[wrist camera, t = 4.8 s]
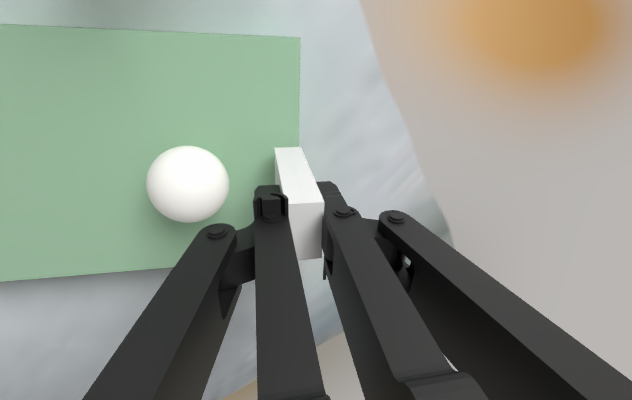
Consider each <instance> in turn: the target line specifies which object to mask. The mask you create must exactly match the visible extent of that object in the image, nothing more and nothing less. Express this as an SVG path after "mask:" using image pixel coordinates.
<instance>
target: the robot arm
mask: <svg viewBox="0 0 632 400" xmlns="http://www.w3.org/2000/svg"><path fill="white" fill-rule="evenodd" d="M274 156H275V185H260V186H258V187H257V188H256V189H255V190H254V199H253V210H254V221H253V223H252V224H250V225H249V226H247V227H246V228H243V229H240V230H235V228H234V227H233V226H231V225H230V224H225V223H216V224H211V225H208V226H206V227H204V228H202V229H201V230H200V231H199V232H198V234H197V235H196V237H195V238H194V239H193V241H192V242H191V244H190V245H189V247H188V248H187V249H186V251H185V252H184V254H183V255H182V257H181V258H180V260H179V261H178V262H177V264H176V265H175V267H174V268H173V270H172V271H171V273H170V274H169V275H168V277H167V278H166V280H165V281H164V283H163V284H162V285H161V287H160V288H159V290H158V291H157V293H156V294H155V296H154V297H153V298H152V300H151V301H150V303H149V304H148V306H147V307H146V309H145V310H144V311H143V313H142V314H141V316H140V317H139V319H138V320H137V321H136V323H135V324H134V326H133V327H132V329H131V330H130V332H129V333H128V334H127V336H126V337H125V339H124V340H123V342H122V343H121V345H120V346H119V347H118V349H117V350H116V352H115V353H114V355H113V356H112V357H111V359H110V360H109V362H108V363H107V365H106V366H105V368H104V369H103V370H102V372H101V373H100V375H99V376H98V378H97V379H96V381H95V382H94V383H93V385H92V386H91V388H90V389H89V391H88V392H87V393H86V395H85V396H84V398H83V399H82V400H201V398H202V395H203V393H204V390H205V387H206V384H207V382H208V379H209V376H210V374H211V371H212V368H213V365H214V363H215V360H216V357H217V355H218V352H219V349H220V346H221V344H222V341H223V338H224V336H225V333H226V330H227V327H228V325H229V322H230V319H231V316H232V314H233V311H234V308H235V306H236V303H237V300H238V297H239V295H240V292H241V289H242V284H243V283H246V282H249V281H252V280H254V279H255V285H256V336H257V383H258V385H257V386H258V400H331V399H330V397H329V396H328V395H326V393H325V390H324V385H323V381H322V376H321V371H320V366H319V361H318V357H317V352H316V347H315V342H314V337H313V332H312V328H311V323H310V318H309V313H308V308H307V304H306V299H305V294H304V289H303V284H302V279H301V275H300V270H299V265H298V260H305V259H316V258H322V249H323V252H324V269H323V280H326V275H327V277H328V280H329V284H330V287H331V290H332V293H333V297H334V300H335V303H336V306H337V310H338V313H339V316H340V319H341V323H342V326H343V329H344V332H345V335H346V339H347V342H348V345H349V348H350V352H351V355H352V358H353V362H354V365H355V368H356V371H357V375H358V378H359V381H360V384H361V388H362V391H363V393H364V397H365V400H632V381H631V380H629V379H628V378H627V377H625V376H624V375H623V374H621V373H620V372H618V371H617V370H616V369H615V368H613V367H612V366H610V365H609V364H608V363H607V362H605V361H604V360H602V359H601V358H600V357H598V356H597V355H596V354H594V353H593V352H592V351H590V350H589V349H588V348H586V347H585V346H584V345H582V344H581V343H580V342H578V341H577V340H576V339H574V338H573V337H572V336H570V335H569V334H568V333H566V332H565V331H564V330H562V329H561V328H560V327H558V326H557V325H555V324H554V323H553V322H551V321H550V320H549V319H547V318H546V317H545V316H543V315H542V314H541V313H539V312H538V311H537V310H535V309H534V308H533V307H531V306H530V305H529V304H527V303H526V302H525V301H523V300H522V299H521V298H519V297H518V296H516V295H515V294H514V293H512V292H511V291H509V290H508V289H507V288H506V287H504V286H503V285H502V284H500V283H499V282H498V281H496V280H495V279H494V278H492V277H491V276H490V275H488V274H487V273H485V272H484V271H483V270H482V269H480V268H479V267H478V266H476V265H475V264H474V263H472V262H471V261H470V260H468V259H467V258H465V257H464V256H463V255H461V254H460V253H459V252H457V251H456V250H455V249H453V248H452V247H451V246H449V245H448V244H447V243H445V242H444V241H443V240H441V239H440V238H439V237H437V236H436V235H435V234H433V233H432V232H431V231H429V230H428V229H427V228H425V227H424V226H422V225H421V224H420V223H418V222H417V221H416V220H414V219H413V218H412V217H410V216H409V215H407V214H405V213H403V212H400V211H396V210H391V211H385V212H382V213H381V214H380V215H379V220H372V219H365V218H362V217H361V215H360V214H359V212H358V211H357V210H356V209H354V208H352V207H349V206H347V204H346V202H345V200H344V198H343V197H342V196H341V193H340V192H339V189H338V188H337V186H336V185H335V184H333V183H332V182H330V181H326V182H316V181H315V179H314V177H313V174H312V172H311V170H310V167H309V165H308V163H307V160H306V158H305V156H304V154H303V151H302V149H301V147H281V148H274ZM406 257H407V258H408V259H409V260H410V261H411V264H410V266H409V265H408V264H407V263H406V262H405V258H406ZM443 354H444V355H445V356H446V357H447V359H448V360H449V361H450V362H451V363H452V364H453V366H454V367H455V368H456V369H457V370H458V371H459V372H457V371H455V370H453V369H452V368H451V366H450V365H449V363H448V362H447V360H446V358H445V357H444V355H443Z"/></svg>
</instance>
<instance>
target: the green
mask: <svg viewBox="0 0 632 400" xmlns="http://www.w3.org/2000/svg"><path fill="white" fill-rule="evenodd" d="M299 94H300V38H296V37H275V36H253V35H231V34H209V33H187V32H165V31H143V30H121V29H98V28H76V27H54V26H32V25H10V24H0V282H3V281H15V280H27V279H39V278H51V277H63V276H75V275H87V274H99V273H111V272H123V271H134V270H146V269H158V268H170V267H175V265H176V264H177V262H178V261H179V260H180V258H181V257H182V255H183V254H184V252H185V251H186V249H187V248H188V247H189V245H190V244H191V242H192V241H193V239H194V238H195V237H196V235H197V234H198V232H199V231H200V230H201V229H202V228H204V227H206V226H208V225H211V224H216V223H225V224H230V225H231V226H233V227H234V228H235V230H240V229H243V228H246V227H247V226H249V225H250V224H252V223H253V221H254V210H253V199H254V190H255V189H256V188H257V187H258V186H260V185H275V156H274V148H281V147H299ZM178 146H195V147H200V148H203V149H205V150H207V151H209V152H211V153H212V154H214V155H215V156H216V157H217V158H218V159H219V160H220V161H221V162H222V164H223V165H224V167H225V169H226V171H227V174H228V177H229V192H228V196H227V199H226V201H225V203H224V204H223V206H222V207H221V208H220V210H219V211H217V212H216V213H215V214H214V215H212V216H211V217H209V218H207V219H205V220H202V221H198V222H192V223H185V222H179V221H175V220H172V219H170V218H168V217H166V216H164V215H163V214H161V213H160V212H159V211H158V210H157V209H156V208H155V207H154V206H153V204H152V203H151V201H150V199H149V197H148V194H147V189H146V177H147V173H148V170H149V168H150V166H151V164H152V163H153V161H154V160H155V159H156V158H157V157H158V156H159V155H160V154H162V153H163V152H165V151H167V150H169V149H171V148H174V147H178Z"/></svg>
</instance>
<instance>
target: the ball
mask: <svg viewBox="0 0 632 400" xmlns="http://www.w3.org/2000/svg"><path fill="white" fill-rule="evenodd" d="M146 189H147V194H148V197H149V199H150V201H151V203H152V204H153V206H154V207H155V208H156V209H157V210H158V211H159V212H160V213H161V214H163V215H164V216H166V217H168V218H170V219H172V220H175V221H179V222H185V223H192V222H198V221H202V220H205V219H207V218H209V217H211V216H212V215H214V214H215V213H216V212H217V211H219V210H220V208H221V207H222V206H223V204H224V203H225V201H226V199H227V196H228V192H229V177H228V174H227V171H226V169H225V167H224V165H223V164H222V162H221V161H220V160H219V159H218V158H217V157H216V156H215V155H214V154H212V153H211V152H209V151H207V150H205V149H203V148H200V147H195V146H178V147H174V148H171V149H169V150H167V151H165V152H163V153H162V154H160V155H159V156H158V157H157V158H156V159H155V160H154V161H153V163H152V164H151V166H150V168H149V170H148V173H147V177H146Z"/></svg>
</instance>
